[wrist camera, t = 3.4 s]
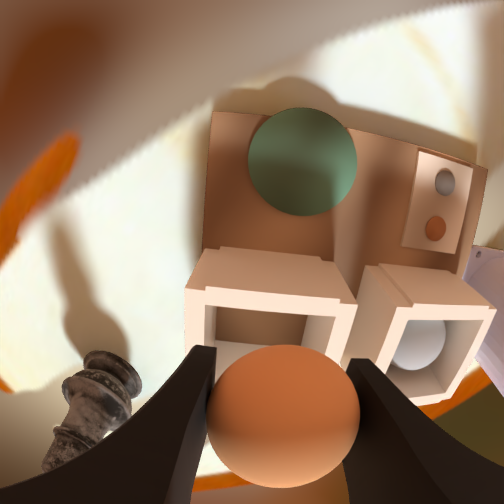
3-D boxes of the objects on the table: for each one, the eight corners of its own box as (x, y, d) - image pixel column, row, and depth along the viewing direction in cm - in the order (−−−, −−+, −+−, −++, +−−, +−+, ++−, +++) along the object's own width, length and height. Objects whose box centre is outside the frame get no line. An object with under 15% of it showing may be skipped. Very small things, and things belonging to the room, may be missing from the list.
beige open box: (334, 258, 15) (359, 300, 11) (310, 358, 18) (320, 412, 13) (205, 244, 15) (184, 283, 11) (201, 348, 18) (187, 401, 13)
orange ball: (359, 321, 8) (407, 428, 4) (324, 410, 10) (340, 504, 6) (220, 307, 8) (192, 425, 4) (213, 402, 9) (196, 500, 6)
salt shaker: (77, 377, 21) (16, 479, 10) (86, 334, 19) (3, 454, 8) (135, 409, 22) (92, 523, 11) (154, 372, 20) (101, 512, 9)
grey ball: (435, 290, 16) (468, 324, 12) (414, 343, 17) (439, 381, 13) (381, 286, 16) (409, 324, 12) (363, 343, 17) (381, 386, 13)
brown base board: (477, 158, 14) (492, 160, 13) (425, 344, 19) (433, 356, 17) (217, 102, 14) (212, 98, 12) (202, 332, 18) (198, 346, 17)
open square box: (457, 271, 15) (498, 305, 11) (422, 357, 18) (448, 400, 13) (365, 261, 15) (398, 302, 11) (337, 359, 18) (353, 411, 13)
